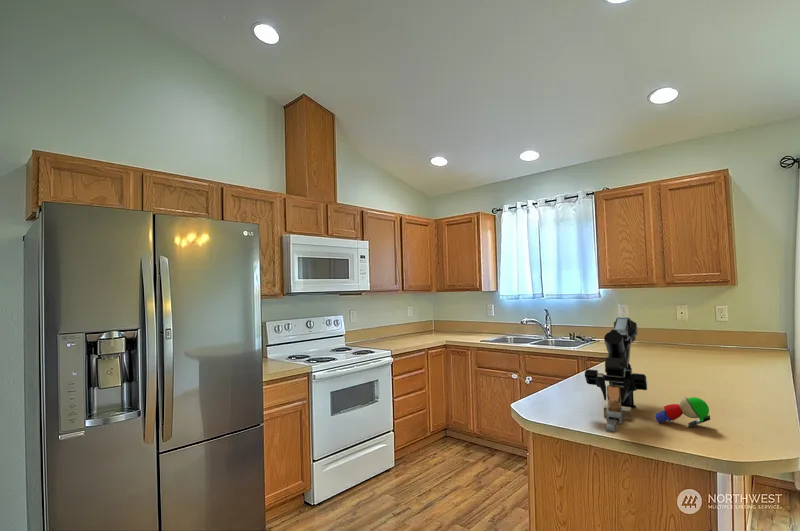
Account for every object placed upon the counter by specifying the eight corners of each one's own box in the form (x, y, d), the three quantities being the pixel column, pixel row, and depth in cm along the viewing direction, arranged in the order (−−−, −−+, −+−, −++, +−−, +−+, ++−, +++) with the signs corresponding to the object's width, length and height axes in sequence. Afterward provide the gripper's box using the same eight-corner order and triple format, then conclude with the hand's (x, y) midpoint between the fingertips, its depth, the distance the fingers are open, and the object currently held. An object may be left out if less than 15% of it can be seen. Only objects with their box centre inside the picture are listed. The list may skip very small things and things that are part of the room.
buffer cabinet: (606, 412, 149) (605, 403, 149) (631, 416, 145) (631, 406, 145) (603, 416, 145) (603, 406, 145) (630, 420, 141) (629, 409, 141)
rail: (612, 418, 143) (612, 413, 143) (620, 419, 142) (620, 414, 142) (605, 430, 131) (605, 425, 131) (614, 432, 129) (614, 427, 129)
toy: (667, 437, 134) (715, 419, 127) (651, 413, 136) (698, 394, 130) (668, 429, 141) (714, 412, 134) (653, 407, 143) (697, 389, 137)
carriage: (609, 417, 143) (607, 384, 143) (623, 419, 140) (621, 385, 141) (606, 421, 139) (605, 387, 139) (621, 423, 136) (619, 388, 137)
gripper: (584, 346, 149) (579, 383, 140) (644, 349, 139) (643, 390, 129) (589, 365, 155) (584, 402, 146) (647, 369, 145) (646, 410, 135)
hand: (613, 400), depth 139 cm, fingers open, 5 cm apart
